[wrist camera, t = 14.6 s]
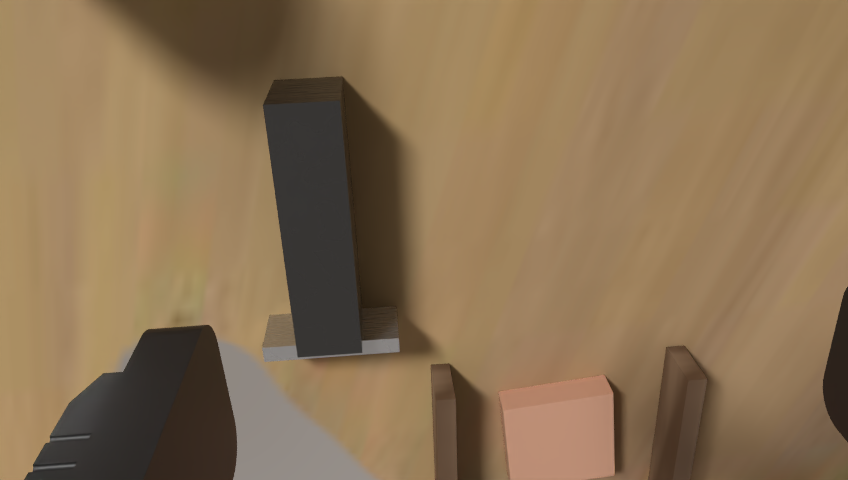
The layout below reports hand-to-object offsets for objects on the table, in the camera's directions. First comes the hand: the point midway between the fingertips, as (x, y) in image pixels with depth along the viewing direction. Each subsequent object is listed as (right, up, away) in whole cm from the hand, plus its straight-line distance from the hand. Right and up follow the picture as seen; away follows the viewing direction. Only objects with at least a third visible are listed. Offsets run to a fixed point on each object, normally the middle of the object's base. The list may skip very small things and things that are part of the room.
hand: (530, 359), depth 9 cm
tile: (+6, -9, +33) cm, 35 cm away
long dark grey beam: (-6, +3, +25) cm, 26 cm away
